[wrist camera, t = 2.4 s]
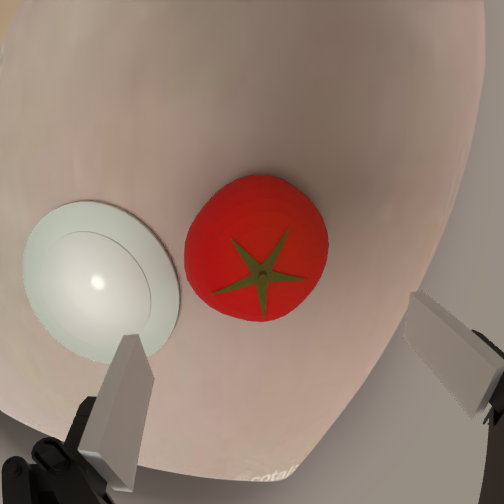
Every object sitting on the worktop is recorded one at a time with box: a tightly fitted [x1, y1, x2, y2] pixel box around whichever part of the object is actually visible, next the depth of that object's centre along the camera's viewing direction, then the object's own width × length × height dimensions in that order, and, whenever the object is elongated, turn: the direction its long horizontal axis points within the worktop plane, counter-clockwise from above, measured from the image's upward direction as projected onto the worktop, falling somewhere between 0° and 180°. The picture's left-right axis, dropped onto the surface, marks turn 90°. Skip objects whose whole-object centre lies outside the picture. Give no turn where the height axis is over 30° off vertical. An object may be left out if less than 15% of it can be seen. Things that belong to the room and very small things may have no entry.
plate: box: [23, 201, 180, 364], centre depth 30 cm, size 20×20×1 cm
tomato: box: [184, 175, 329, 322], centre depth 25 cm, size 11×12×10 cm
